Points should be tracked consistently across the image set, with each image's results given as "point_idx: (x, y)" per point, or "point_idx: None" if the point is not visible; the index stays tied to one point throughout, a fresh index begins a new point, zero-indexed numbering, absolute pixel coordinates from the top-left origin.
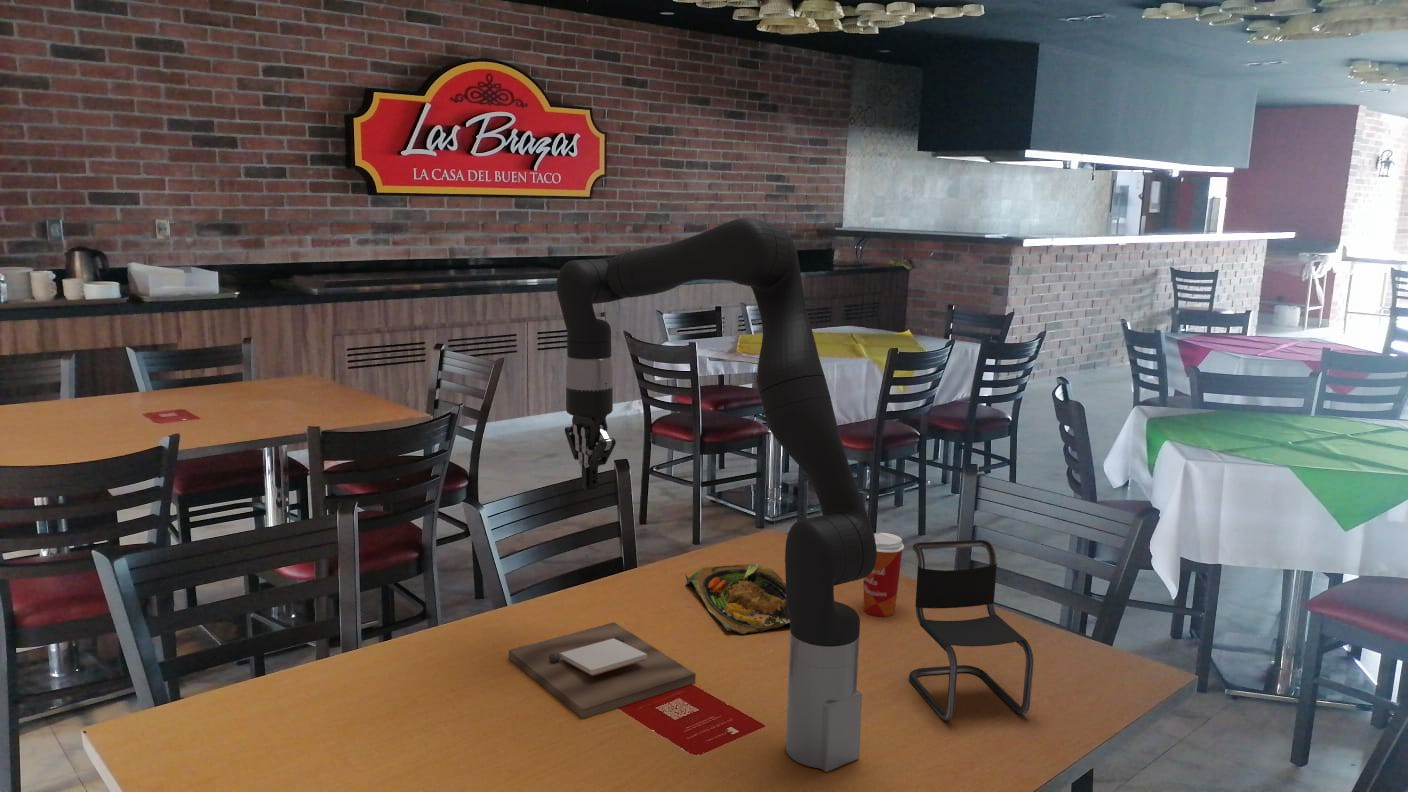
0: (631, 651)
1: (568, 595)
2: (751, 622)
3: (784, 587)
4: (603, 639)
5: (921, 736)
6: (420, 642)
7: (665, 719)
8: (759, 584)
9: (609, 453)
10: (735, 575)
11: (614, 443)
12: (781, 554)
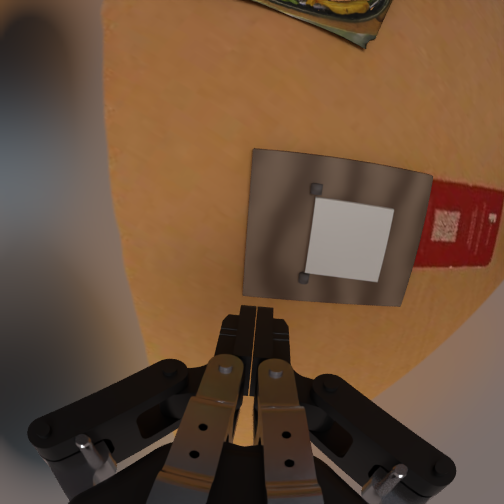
0: (372, 215)
1: (117, 135)
2: (361, 10)
3: None
4: (291, 194)
5: None
6: (156, 329)
7: (449, 247)
8: None
9: (395, 426)
10: None
11: (449, 466)
12: None
